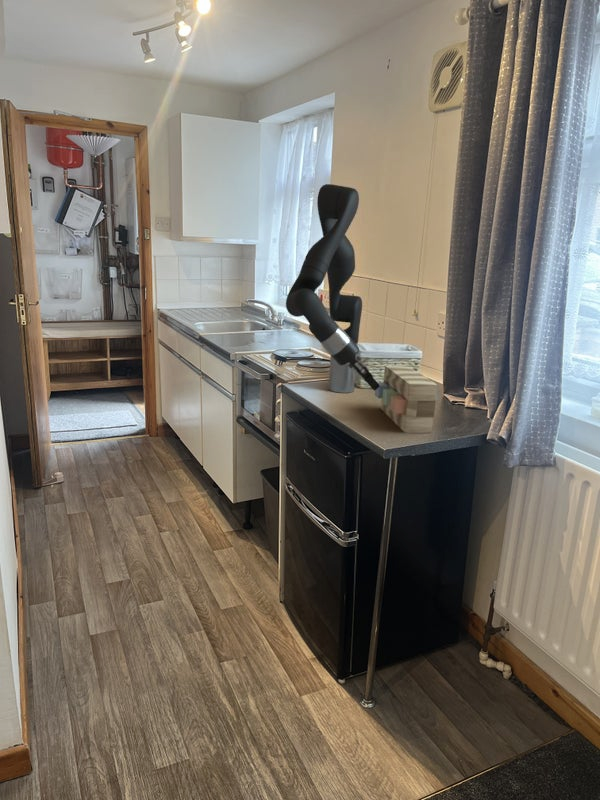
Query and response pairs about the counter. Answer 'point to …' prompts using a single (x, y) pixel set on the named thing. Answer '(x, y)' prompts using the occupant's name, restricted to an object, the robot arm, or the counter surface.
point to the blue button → (381, 389)
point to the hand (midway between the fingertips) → (376, 387)
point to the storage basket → (386, 359)
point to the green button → (388, 396)
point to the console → (411, 398)
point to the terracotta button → (398, 404)
